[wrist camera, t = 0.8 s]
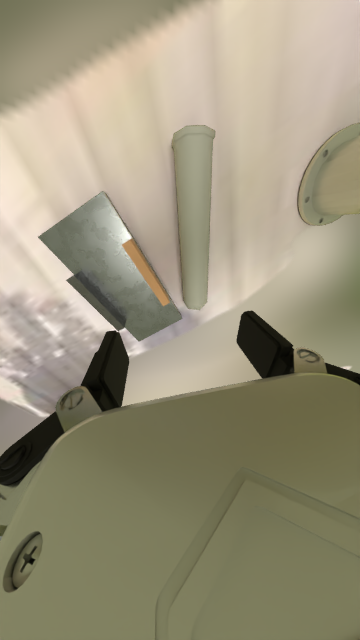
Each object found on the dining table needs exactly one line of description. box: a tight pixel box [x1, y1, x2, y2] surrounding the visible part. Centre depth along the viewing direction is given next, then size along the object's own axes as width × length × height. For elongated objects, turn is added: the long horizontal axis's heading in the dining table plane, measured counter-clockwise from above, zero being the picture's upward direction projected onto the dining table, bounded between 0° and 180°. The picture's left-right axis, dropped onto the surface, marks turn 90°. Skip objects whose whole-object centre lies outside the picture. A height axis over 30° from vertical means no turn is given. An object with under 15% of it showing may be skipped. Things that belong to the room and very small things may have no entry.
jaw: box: [122, 239, 170, 306], centre depth 26 cm, size 2×12×3 cm, turn 27°
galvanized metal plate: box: [38, 191, 182, 341], centre depth 27 cm, size 12×25×4 cm, turn 27°
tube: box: [172, 125, 215, 310], centre depth 26 cm, size 5×5×25 cm
